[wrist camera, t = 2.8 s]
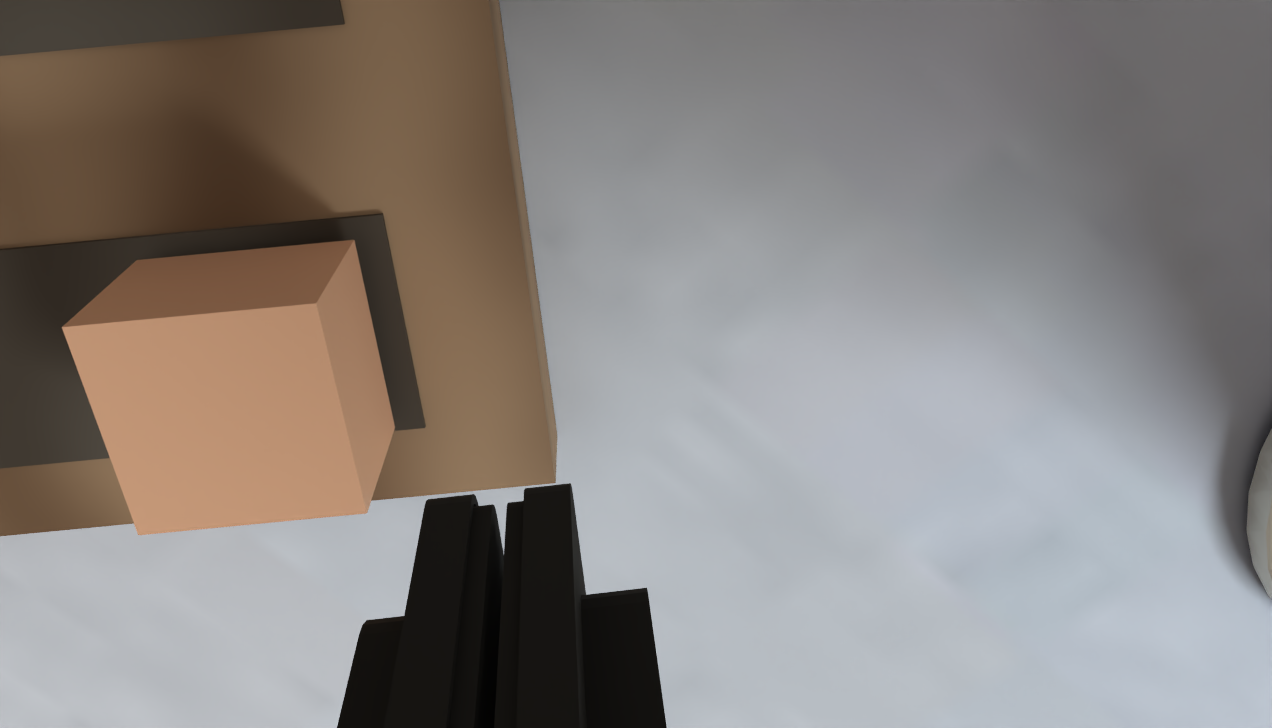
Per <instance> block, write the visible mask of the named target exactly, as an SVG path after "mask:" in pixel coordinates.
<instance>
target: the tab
mask: <svg viewBox="0 0 1272 728" xmlns="http://www.w3.org/2000/svg"><path fill="white" fill-rule="evenodd" d="M62 329H63V332H64V335H65V337H66V340H67V343H68V345H69V348H70V351H71V354H72V356H73V359H74V362H75V364H76V367H77V370H78V373H79V375H80V378H81V381H82V383H83V386H84V389H85V392H86V394H87V397H88V400H89V402H90V405H91V408H92V411H93V413H94V416H95V419H96V421H97V424H98V427H99V430H100V432H101V435H102V438H103V440H104V443H105V446H106V449H107V451H108V454H109V457H110V459H111V462H112V465H113V468H114V470H115V473H116V476H117V478H118V481H119V484H120V487H121V489H122V492H123V495H124V497H125V500H126V503H127V506H128V508H129V511H130V514H131V516H132V519H133V522H134V525H135V527H136V530H137V533H138V535H145V534H156V533H166V532H176V531H187V530H197V529H208V528H218V527H229V526H239V525H249V524H260V523H270V522H281V521H291V520H301V519H312V518H322V517H333V516H343V515H354V514H364V513H367V512H368V509H369V506H370V502H371V499H372V496H373V493H374V490H375V487H376V484H377V481H378V478H379V475H380V472H381V469H382V466H383V463H384V460H385V457H386V454H387V451H388V448H389V444H390V441H391V438H392V435H393V432H394V429H395V425H394V420H393V416H392V411H391V407H390V402H389V397H388V393H387V388H386V383H385V379H384V374H383V370H382V365H381V360H380V356H379V351H378V347H377V342H376V337H375V333H374V328H373V324H372V319H371V314H370V310H369V305H368V300H367V296H366V291H365V287H364V282H363V277H362V273H361V268H360V264H359V259H358V254H357V250H356V245H355V241H354V240H346V241H335V242H325V243H314V244H303V245H293V246H282V247H271V248H260V249H250V250H239V251H228V252H218V253H207V254H196V255H186V256H175V257H164V258H154V259H143V260H136V261H135V262H134V263H133V264H132V265H131V266H130V267H129V268H127V269H126V270H125V271H124V272H123V273H122V274H121V275H120V276H118V277H117V278H116V279H115V280H114V281H113V282H112V283H111V284H110V285H108V286H107V287H106V288H105V289H104V290H103V291H102V292H101V293H99V294H98V295H97V296H96V297H95V298H94V299H93V300H92V301H91V302H89V303H88V304H87V305H86V306H85V307H84V308H83V309H82V310H81V311H79V312H78V313H77V314H76V315H75V316H74V317H73V318H72V319H70V320H69V321H68V322H67V323H66V324H65V325H64V326H63V327H62Z"/></svg>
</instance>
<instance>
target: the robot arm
mask: <svg viewBox="0 0 1272 728" xmlns="http://www.w3.org/2000/svg"><path fill="white" fill-rule="evenodd" d="M1246 532H1247V537H1248V542H1249V547H1250V552H1251V557H1252V562H1253V566H1254V568H1255V570H1256V572H1257V574H1258V576H1259V578H1260V580H1261V582H1262V584H1263V586H1264V588H1265V590H1266V592H1267V594H1268V596H1269V597H1270V598H1271V599H1272V429H1271V431H1270V433H1269V435H1268V437H1267V439H1266V441H1265V443H1264V445H1263V447H1262V449H1261V451H1260V454H1259V458H1258V461H1257V465H1256V468H1255V472H1254V476H1253V479H1252V483H1251V486H1250V490H1249V496H1248V513H1247V530H1246ZM337 728H666V720H665V713H664V706H663V699H662V692H661V684H660V677H659V670H658V663H657V656H656V648H655V641H654V634H653V627H652V620H651V612H650V605H649V598H648V592H647V588H642V589H633V590H624V591H616V592H607V593H599V594H590V595H586V591H585V584H584V576H583V568H582V561H581V553H580V546H579V538H578V530H577V523H576V515H575V507H574V500H573V493H572V487H571V483H570V484H561V485H553V486H544V487H535V488H526V489H525V490H524V501H521V502H512V503H508V504H507V515H506V532H505V549H504V554H503V548H502V543H501V537H500V531H499V526H498V520H497V514H496V510H495V507H494V505H485V506H478V502H477V499H476V496H475V495H474V494H472V495H463V496H454V497H446V498H437V499H428V500H427V501H426V504H425V508H424V513H423V518H422V524H421V529H420V535H419V540H418V545H417V551H416V556H415V562H414V567H413V572H412V578H411V583H410V589H409V594H408V599H407V605H406V610H405V616H400V617H392V618H383V619H375V620H367V621H366V622H365V623H364V624H363V625H362V628H361V631H360V634H359V638H358V642H357V646H356V650H355V655H354V659H353V663H352V667H351V671H350V676H349V680H348V684H347V688H346V692H345V697H344V701H343V705H342V709H341V713H340V717H339V722H338V726H337Z"/></svg>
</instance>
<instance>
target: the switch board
mask: <svg viewBox="0 0 1272 728" xmlns="http://www.w3.org/2000/svg"><path fill="white" fill-rule="evenodd" d="M346 240H354V241H355V245H356V250H357V254H358V259H359V264H360V268H361V273H362V277H363V282H364V287H365V291H366V296H367V300H368V305H369V310H370V314H371V319H372V324H373V328H374V333H375V337H376V342H377V347H378V351H379V356H380V360H381V365H382V370H383V374H384V379H385V383H386V388H387V393H388V397H389V402H390V407H391V411H392V416H393V420H394V425H395V429H394V432H393V435H392V438H391V441H390V444H389V448H388V451H387V454H386V457H385V460H384V463H383V466H382V469H381V472H380V475H379V478H378V481H377V484H376V487H375V490H374V493H373V496H372V499H371V501H372V500H383V499H393V498H403V497H414V496H424V495H435V494H445V493H456V492H466V491H476V490H487V489H497V488H508V487H518V486H529V485H539V484H549V483H555V481H556V455H557V430H556V423H555V415H554V408H553V400H552V393H551V385H550V378H549V371H548V363H547V356H546V348H545V341H544V333H543V326H542V318H541V311H540V304H539V296H538V289H537V281H536V274H535V266H534V259H533V251H532V244H531V237H530V229H529V222H528V214H527V207H526V199H525V192H524V184H523V177H522V170H521V162H520V155H519V147H518V140H517V132H516V125H515V118H514V110H513V103H512V95H511V88H510V80H509V73H508V65H507V58H506V51H505V43H504V36H503V28H502V21H501V13H500V6H499V0H0V536H7V535H18V534H28V533H38V532H49V531H59V530H70V529H80V528H91V527H101V526H111V525H122V524H132V523H134V522H133V519H132V516H131V514H130V511H129V508H128V506H127V503H126V500H125V497H124V495H123V492H122V489H121V487H120V484H119V481H118V478H117V476H116V473H115V470H114V468H113V465H112V462H111V459H110V457H109V454H108V451H107V449H106V446H105V443H104V440H103V438H102V435H101V432H100V430H99V427H98V424H97V421H96V419H95V416H94V413H93V411H92V408H91V405H90V402H89V400H88V397H87V394H86V392H85V389H84V386H83V383H82V381H81V378H80V375H79V373H78V370H77V367H76V364H75V362H74V359H73V356H72V354H71V351H70V348H69V345H68V343H67V340H66V337H65V335H64V332H63V329H62V327H63V326H64V325H65V324H66V323H67V322H68V321H69V320H70V319H72V318H73V317H74V316H75V315H76V314H77V313H78V312H79V311H81V310H82V309H83V308H84V307H85V306H86V305H87V304H88V303H89V302H91V301H92V300H93V299H94V298H95V297H96V296H97V295H98V294H99V293H101V292H102V291H103V290H104V289H105V288H106V287H107V286H108V285H110V284H111V283H112V282H113V281H114V280H115V279H116V278H117V277H118V276H120V275H121V274H122V273H123V272H124V271H125V270H126V269H127V268H129V267H130V266H131V265H132V264H133V263H134V262H135V261H136V260H143V259H154V258H164V257H175V256H186V255H196V254H207V253H218V252H228V251H239V250H250V249H260V248H271V247H282V246H293V245H303V244H314V243H325V242H335V241H346Z"/></svg>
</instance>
